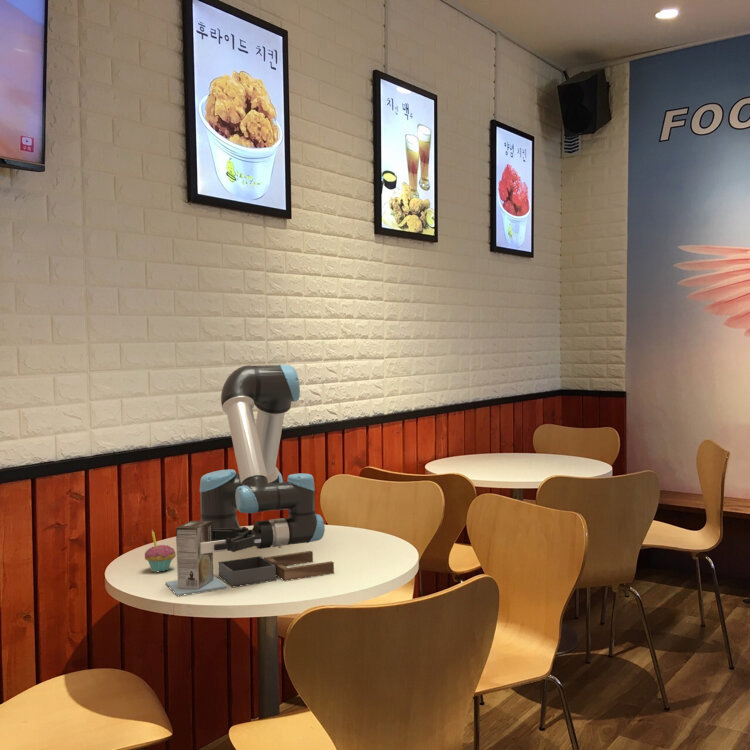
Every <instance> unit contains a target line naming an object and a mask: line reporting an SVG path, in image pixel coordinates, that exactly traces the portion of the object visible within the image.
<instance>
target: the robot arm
mask: <svg viewBox="0 0 750 750" xmlns="http://www.w3.org/2000/svg"><path fill="white" fill-rule="evenodd" d="M300 395H301V388H300V380H299V377H298V373H297V370H296V369H295V367H294V366H293V365H290V364H277V365H276V364H275V365H274V364H273V365H271V364H269V365H268V364H267V365H266V364H264V365H263V364H262V365H261V364H260V365H259V364H257V365H252V364H251V365H243V366H240V367H238V368H236V369H235V370H233V371H232V372H231V373H230V374H229V375H228V377H227V378H226V380H225V381H224V384H223V385H222V389H221V395H220V402H221V403H220V404H221V408H222V412H223V413H225V414H226V415H227V420H228V426H229V430H230V436H231V441H232V446H233V450H234V455H235V460H236V464H237V470H238V473H237V472H236V470H235V469H229V468H228V469H221V470H220V469H219V470H216V471H212V472H208V473H206V474H204V475H202V476H201V478H200V481H199V482H200V484H199V494H200V495H199V497H200V500H199V501H200V502H199V503H200V504H199V505H200V521H212V541H211V542H203V543H200V547H201V554H204V553H212V552H213V553H216V552H225V551H228V552H230V551H231V552H232V553H236V552H238V551H242V550H243V551H244V550H245V549H248V548H252V547H256V549H258V550H262V549H269V548H271V547H272V548H275V547H278V549H282V548H283V546H290V545H299V544H308V543H313V542H318V541H320V540H322V539H323V538H324V536H325V531H326V529H325V528H326V526H325V523H324V522H325V521H324V519H323V517H322V516H321V514H318V513H316V499H315V498H316V496H315V495H316V494H315V493H316V488H315V481H314V480H315V479H314V476H313V475H312V474H311V473H293V474H289V475H288V476H287V479H286V480H287V481H285V482H284V480H283V475H282V474H281V472H280V471H279V469H278V467H277V460H278V454H279V449H280V442H281V437H282V430H283V425H284V420H285V415H286V413H287V412H289V411H290V409H291V407H292V402H293V403H296V402H298V401H299V400H300ZM254 407H255V408H256V409H257V412H256V419H255V416H254V410H253V409H254ZM283 510H284V511H285V510H288V517H284V518H282V517H281V518H273V519H269V520H258V521H255V522H254V524H253V527H252V528H251V529H249V528H248V527H246V526H243V527H241V526H240V523H239V521H238V518H237V511H238V512H240V513H241V514H256V513H263V512H270V511H283Z"/></svg>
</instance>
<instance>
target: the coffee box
mask: <svg viewBox="0 0 750 750" xmlns="http://www.w3.org/2000/svg"><path fill="white" fill-rule="evenodd" d="M175 540H176V566H177V570H176V572H177V580H178V588H187V589H200V588H201V587H203V586H204V585H206V584H207V583H209V582H210V581H212V580H213V576H214V556H213V555H214V554H213V553H214V552H212V553H204V554H201V547H200V543H203V542H211V541H212V521H201V520H190V521H188V522H186V523H184V524H182V525H179V526H176V527H175Z"/></svg>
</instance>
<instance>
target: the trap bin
mask: <svg viewBox="0 0 750 750" xmlns="http://www.w3.org/2000/svg"><path fill="white" fill-rule="evenodd" d="M217 564H218V565H217V566H218V577H219V576H220V577H221V578H222V579H221V578H220V577H219V578H220V579H221V580H223V581H224V580H225V581H226V582H227V583H226V582H225V581H224V582H225V583H226V584H228V585H229V584H230V585H231V586H230V585H229V586H230V587H231V588H234V587H233V586H237V587H241V586H240V585H243V586H247V585H246V584H250V585H255V584H254V583H256V584H261V583H260V582H262V583H267V582H266V581H268V582H273V581H272V580H275V581H277V576H276V566H275V565H274V564H272V563H270V562H269V561H267V560H266V559H264V557H262V556H253V557H251V556H250V557H246V558H240V559H231V560H224V561H218V563H217Z"/></svg>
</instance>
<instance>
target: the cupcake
mask: <svg viewBox="0 0 750 750" xmlns="http://www.w3.org/2000/svg"><path fill="white" fill-rule="evenodd" d="M151 536H152V540H153V545H154V546H152V547H149V548H148V549H147V550H146V551H145V553H144V560H146V561H148V564H149V567H150V570H151V571H152V570H153V571H165V570H167V571H169V570H170V566H171V562H172V560H174V558H176V557H177V553H176V551H175V549H174V548H173V547H171V546H170V545H168V544H167V545H165V544H158V545H157V540H156V536H155V531H154V530H153V529H151ZM168 569H169V570H168ZM165 572H166V571H165Z"/></svg>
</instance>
